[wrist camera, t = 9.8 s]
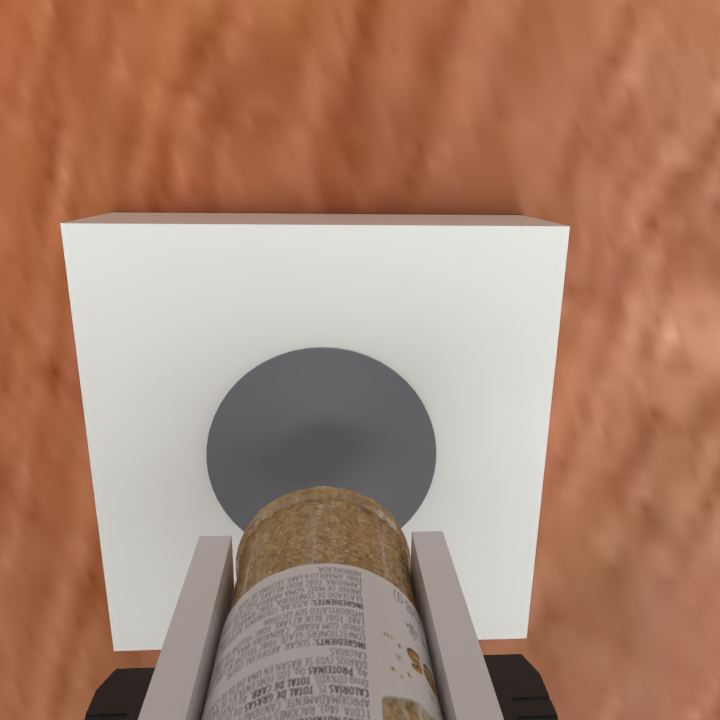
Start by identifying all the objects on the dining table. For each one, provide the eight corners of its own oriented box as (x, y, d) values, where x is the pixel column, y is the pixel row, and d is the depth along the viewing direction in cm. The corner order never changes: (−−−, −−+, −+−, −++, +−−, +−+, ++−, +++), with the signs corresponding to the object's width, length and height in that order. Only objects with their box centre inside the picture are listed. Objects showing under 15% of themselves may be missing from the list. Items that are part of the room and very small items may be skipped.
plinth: (148, 571, 29) (112, 654, 24) (112, 212, 24) (57, 223, 19) (493, 562, 30) (527, 642, 25) (522, 215, 25) (571, 226, 20)
